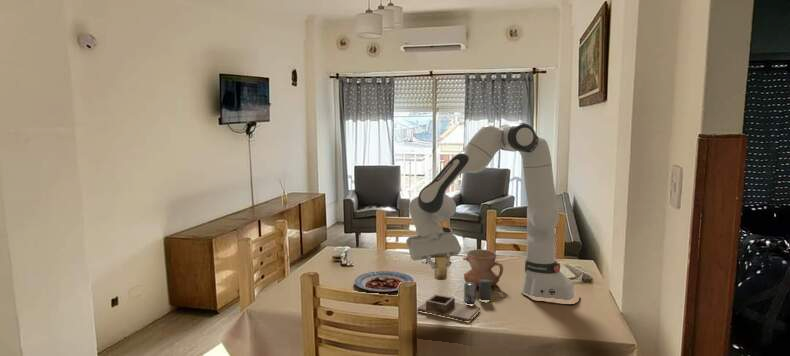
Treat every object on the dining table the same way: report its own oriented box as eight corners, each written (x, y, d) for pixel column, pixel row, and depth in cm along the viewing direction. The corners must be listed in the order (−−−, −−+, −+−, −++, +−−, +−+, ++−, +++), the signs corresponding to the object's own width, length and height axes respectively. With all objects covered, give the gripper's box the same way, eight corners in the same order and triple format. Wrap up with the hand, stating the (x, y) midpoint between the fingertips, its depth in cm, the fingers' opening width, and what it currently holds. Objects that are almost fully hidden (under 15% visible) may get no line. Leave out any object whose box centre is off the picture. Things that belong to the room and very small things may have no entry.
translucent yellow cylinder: (448, 277, 181) (448, 256, 180) (443, 280, 177) (444, 259, 176) (437, 275, 183) (437, 254, 182) (432, 278, 179) (432, 257, 178)
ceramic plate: (408, 298, 196) (408, 290, 195) (346, 293, 201) (346, 286, 200) (418, 277, 221) (418, 271, 220) (363, 274, 226) (363, 267, 225)
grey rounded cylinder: (492, 300, 193) (492, 280, 192) (488, 303, 189) (488, 283, 188) (481, 298, 195) (481, 278, 194) (477, 301, 191) (477, 281, 190)
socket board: (480, 311, 181) (480, 299, 181) (468, 323, 171) (468, 310, 171) (431, 301, 191) (431, 290, 191) (417, 312, 181) (417, 300, 180)
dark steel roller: (477, 303, 190) (477, 283, 189) (473, 307, 186) (473, 286, 185) (466, 301, 192) (466, 281, 191) (462, 304, 188) (462, 284, 187)
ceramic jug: (455, 286, 209) (456, 253, 207) (469, 277, 221) (470, 246, 219) (495, 294, 199) (496, 260, 197) (508, 284, 211) (509, 252, 210)
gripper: (407, 233, 180) (419, 266, 173) (455, 228, 189) (468, 259, 181) (402, 242, 185) (413, 274, 177) (449, 236, 193) (461, 267, 185)
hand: (441, 266), depth 179 cm, fingers closed on translucent yellow cylinder, 4 cm apart
